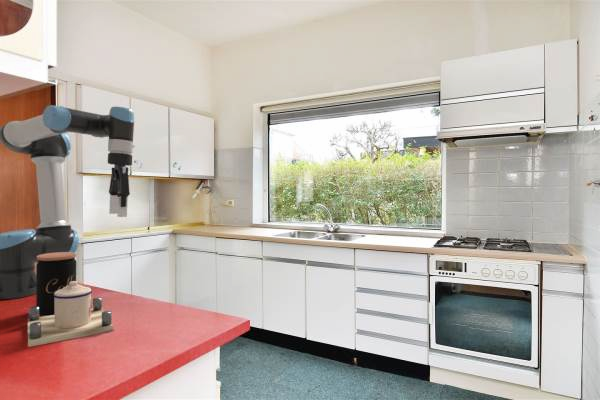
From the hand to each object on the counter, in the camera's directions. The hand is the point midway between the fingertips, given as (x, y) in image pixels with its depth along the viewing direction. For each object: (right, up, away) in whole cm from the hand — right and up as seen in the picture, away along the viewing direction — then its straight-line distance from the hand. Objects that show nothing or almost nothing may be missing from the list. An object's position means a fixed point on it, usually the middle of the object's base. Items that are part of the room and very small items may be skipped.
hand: (117, 215), depth 126 cm
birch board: (-2, -31, -23) cm, 38 cm away
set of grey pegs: (-2, -29, -23) cm, 37 cm away
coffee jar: (-15, -30, -9) cm, 35 cm away
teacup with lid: (-2, -29, -23) cm, 37 cm away
